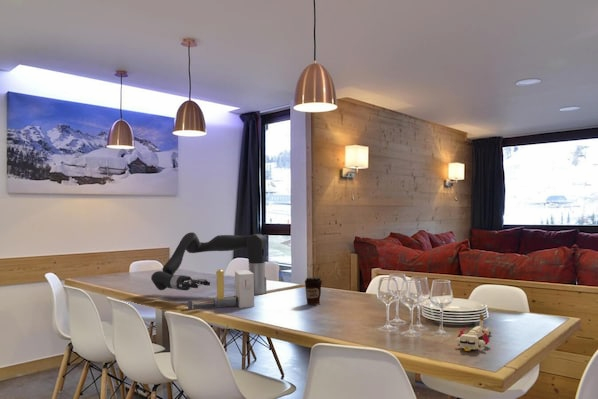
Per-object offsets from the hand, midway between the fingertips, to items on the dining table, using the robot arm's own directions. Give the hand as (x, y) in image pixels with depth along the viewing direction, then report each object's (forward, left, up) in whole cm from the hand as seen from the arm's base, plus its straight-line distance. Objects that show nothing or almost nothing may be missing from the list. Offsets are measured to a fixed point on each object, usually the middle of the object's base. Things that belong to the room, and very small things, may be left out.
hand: (203, 284), depth 235 cm
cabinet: (-19, +9, -10) cm, 23 cm away
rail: (-5, +9, -10) cm, 14 cm away
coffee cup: (-51, +22, -10) cm, 57 cm away
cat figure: (-82, +103, -10) cm, 132 cm away
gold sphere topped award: (-9, +9, -9) cm, 16 cm away
